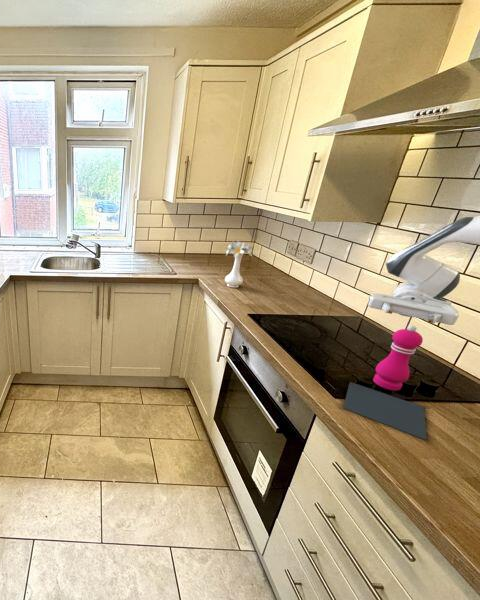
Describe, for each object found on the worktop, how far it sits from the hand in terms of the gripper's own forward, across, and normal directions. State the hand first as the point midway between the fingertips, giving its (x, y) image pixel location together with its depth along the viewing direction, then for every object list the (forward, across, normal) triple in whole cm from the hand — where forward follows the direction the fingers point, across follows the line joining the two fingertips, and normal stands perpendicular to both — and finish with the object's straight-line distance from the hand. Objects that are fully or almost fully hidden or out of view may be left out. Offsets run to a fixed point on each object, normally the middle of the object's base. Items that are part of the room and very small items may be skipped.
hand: (410, 315), depth 97 cm
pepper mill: (+12, 0, +19) cm, 23 cm away
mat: (+27, 0, +19) cm, 33 cm away
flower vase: (-47, -67, +20) cm, 84 cm away
